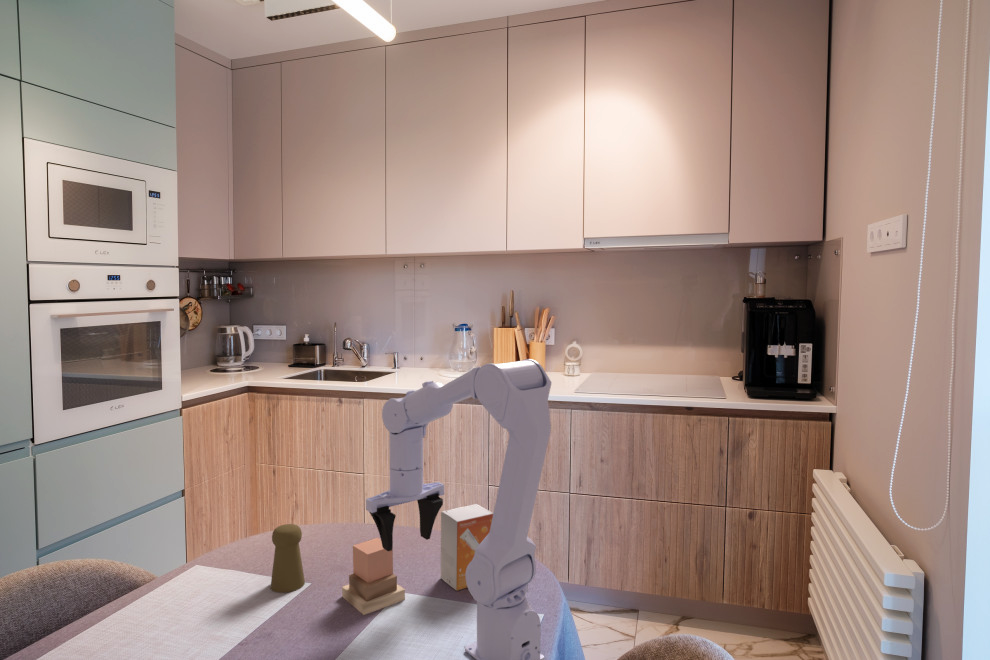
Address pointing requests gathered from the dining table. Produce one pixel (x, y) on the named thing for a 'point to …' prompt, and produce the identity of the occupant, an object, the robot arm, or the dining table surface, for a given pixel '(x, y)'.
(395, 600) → the birch base slab
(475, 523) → the small box
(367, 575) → the terracotta cube
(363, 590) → the walnut top slab
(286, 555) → the olive game pawn
